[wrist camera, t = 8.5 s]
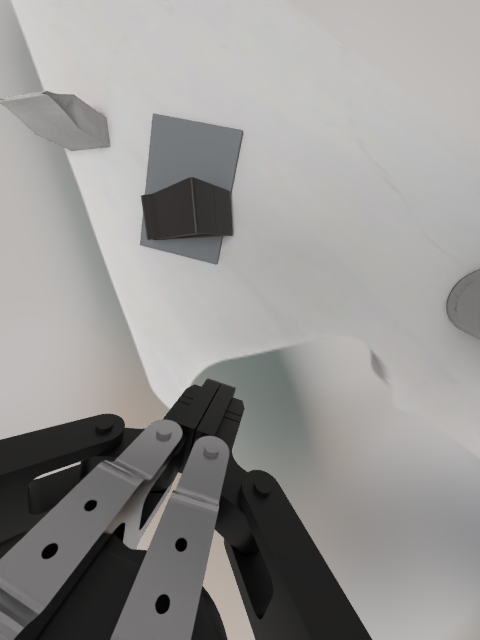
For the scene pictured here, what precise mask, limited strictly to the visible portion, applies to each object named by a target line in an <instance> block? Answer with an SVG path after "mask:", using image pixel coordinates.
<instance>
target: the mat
mask: <svg viewBox="0 0 480 640" xmlns="http://www.w3.org/2000/svg"><path fill="white" fill-rule="evenodd" d="M242 136H243V131H242V130H238V129H233V128H228V127H222V126H217V125H212V124H206V123H201V122H196V121H190V120H185V119H180V118H174V117H169V116H164V115H158V114H153V119H152V129H151V139H150V149H149V159H148V170H147V180H146V190H145V195H147V194H152V193H155V192H157V191H160V190H162V189H164V188H166V187H169V186H171V185H173V184H175V183H178V182H180V181H182V180H185V179H187V178H189V177H195V178H197V179H200V180H202V181H205V182H208V183H210V184H213V185H215V186H218V187H221V188H223V189H226V190H228V191H230V197H231V192H232V187H233V182H234V177H235V171H236V166H237V161H238V156H239V151H240V146H241V141H242ZM222 238H223V236H215V237H198V238H181V239H167V240H153V239H151V240H147V235H146V228H145V220H144V213H143V221H142V231H141V241H140V245H142V246H146V247H150V248H154V249H158V250H162V251H166V252H170V253H174V254H177V255H181V256H185V257H189V258H193V259H197V260H201V261H205V262H209V263H213V264H218V259H219V253H220V248H221V243H222Z"/></svg>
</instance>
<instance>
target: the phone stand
mask: <svg viewBox="0 0 480 640" xmlns="http://www.w3.org/2000/svg"><path fill="white" fill-rule="evenodd" d="M141 199H142V206H143V213H144V220H145V228H146V235H147V240H151V239H153V240H167V239H181V238H198V237H215V236H232V223H231V204H230V191H228V190H226V189H223V188H221V187H218V186H215V185H213V184H210V183H208V182H205V181H202V180H200V179H197V178H195V177H189V178H187V179H185V180H182V181H180V182H178V183H175V184H173V185H171V186H169V187H166V188H164V189H162V190H160V191H157V192H155V193H152V194H147V195H142V196H141Z"/></svg>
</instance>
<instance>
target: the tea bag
mask: <svg viewBox="0 0 480 640" xmlns="http://www.w3.org/2000/svg"><path fill="white" fill-rule="evenodd" d="M0 99H1V100H3V101H1V102H0V104H2V105H3V106H5V107H6V108H7V109H8V110H10V111H11V112H12V113H13V114H14V115H15V116H17V117H18V118H19V119H20V120H21V121H22V122H23V123H24V124H25V125H26V126H27V127H28V128H29V129H31V131H33V132H34V133H35V134H36V135H38V136H40V137H43V138H45V139H47V140H49V141H51V142H54V143H56V144H58V145H60V146H62V147H65V148H67V149H69V150H71V151H75V150H84V149H93V148H103V147H110V141H109V133H108V126H107V119H106V117H104V116H103V115H102V114H100V113H99V112H97V111H96V110H95V109H93V108H92V107H90V106H89V105H88V104H86V103H85V102H83V101H82V100H81V99H79V98H78V97H76V96H75V95H67V94H55V93H51V92H48V91H42V92H36V93H30V94H24V95H17V96H11V97H5V98H0Z"/></svg>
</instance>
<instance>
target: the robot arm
mask: <svg viewBox="0 0 480 640" xmlns="http://www.w3.org/2000/svg"><path fill="white" fill-rule="evenodd" d="M447 311H448V315H449V318H450V320H451V321H452V323H453V324H454V325H455V326H456V327H458V328H459V329H460V330H462V331H465V332H467V333H469V334H471V335H473V336H475V337H477V338H479V339H480V270H478V271H475V272H473V273H471V274H469V275H467V276H466V277H465V278H463V279H462V280H461V281H460V282H459V283H458V284H457V285H456V286H455V287H454V289H453V290H452V292H451V293H450V296H449V299H448V303H447ZM235 389H236V388H235V387H232V386H229V385H226V384H223V383H222V384H221V383H220V382H217V381H214V380H211V379H207V380H206V382H205V383H204V385H203V386H202V387H201V386H197V385H193V386H191V387H189V388H187V389H186V390H185V391H184V393H183V394H182V396H180V398H179V399H178V401H177V402H176V403H175V404H174V405H173V407H172V408H171V409H170V411H169V412H168V413H167V414H166V416H165V417H164V419H163V420H158V421H155V422H153V423H151V424H150V425H149V426H148V427H147V428H146V429H133V428H125V423H124V421H123V419H122V418H121V417H119V416H117V415H114V414H101V415H97V416H93V417H89V418H85V419H81V420H77V421H74V422H70V423H65V424H62V425H58V426H53V427H50V428H45V429H42V430H38V431H34V432H30V433H26V434H22V435H18V436H14V437H10V438H6V439H2V440H0V640H227V636H226V632H225V629H224V625H223V622H222V620H221V617H220V614H219V612H218V610H217V608H216V605H215V603H214V602H213V600H212V598H211V597H210V595H209V593H208V592H207V591H206V590H205V589H204V587H203V586H202V585H203V580H204V576H205V571H206V566H207V561H208V557H209V552H210V547H211V543H212V538H213V533H214V529H215V530H216V531H217V532H218V533H219V534H221V536H223V537H224V545H225V549H226V552H227V555H228V558H229V561H230V564H231V567H232V570H233V573H234V576H235V579H236V582H237V585H238V588H239V591H240V594H241V597H242V600H243V603H244V606H245V609H246V612H247V615H248V618H249V621H250V624H251V627H252V630H253V633H254V636H255V639H256V640H372V639H371V637H370V635H369V633H368V632H367V630H366V629H365V627H364V625H363V624H362V622H361V620H360V618H359V617H358V615H357V613H356V612H355V610H354V609H353V607H352V605H351V604H350V602H349V600H348V599H347V597H346V595H345V594H344V592H343V590H342V589H341V587H340V585H339V584H338V582H337V581H336V579H335V577H334V575H333V574H332V572H331V570H330V569H329V567H328V565H327V564H326V562H325V560H324V559H323V557H322V555H321V554H320V552H319V550H318V549H317V547H316V545H315V544H314V542H313V540H312V539H311V537H310V535H309V534H308V532H307V530H306V529H305V527H304V525H303V524H302V522H301V520H300V519H299V517H298V515H297V514H296V512H295V510H294V509H293V507H292V505H291V504H290V502H289V500H288V499H287V497H286V495H285V494H284V492H283V490H282V489H281V487H280V485H279V484H278V482H277V481H276V479H275V478H274V477H273V476H271V475H270V474H268V473H267V472H265V471H261V470H252V471H250V472H246V471H245V470H243V469H242V468H241V467H240V466H239V465H238V464H237V463H236V461H235V460H234V458H233V455H232V448H233V444H234V441H235V438H236V435H237V432H238V428H239V425H240V421H241V418H242V415H243V411H244V405H243V401H242V400H238V399H236V398H233V396H234V393H235ZM79 461H81V464H79V465H76V466H74V467H71V468H68V469H65V470H63V471H59V472H57V473H54V474H51V475H48V476H45V477H43V478H40V479H35V478H36V477H37V476H40V475H42V474H45V473H48V472H51V471H54V470H56V469H59V468H62V467H65V466H68V465H71V464H74V463H77V462H79ZM178 472H180V473H182V475H181V478H180V480H179V483H178V485H177V487H176V490H175V491H174V490H173V492H172V494H171V496H170V498H169V500H168V503H167V505H166V507H165V510H164V512H163V515H162V517H161V519H160V522H159V524H158V527H157V529H156V531H155V534H154V537H153V539H152V541H151V543H150V546H149V548H148V551H146V550H136V547H137V545H138V543H139V541H140V539H141V537H142V535H143V533H144V532H145V530H146V529H147V527H148V525H149V524H150V522H151V520H152V519H153V517H154V516H155V514H156V512H157V511H158V509H159V507H160V506H161V504H162V503H163V501H164V499H165V498H166V496H167V494H168V493H169V491H170V489H171V486H172V483H173V481H174V479H175V477H176V475H177V473H178ZM33 479H35V480H33Z"/></svg>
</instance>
